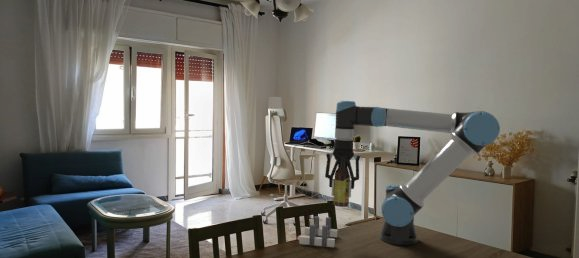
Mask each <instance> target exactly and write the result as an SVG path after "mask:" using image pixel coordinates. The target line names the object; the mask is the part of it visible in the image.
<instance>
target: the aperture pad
mask: <svg viewBox="0 0 579 258" xmlns="http://www.w3.org/2000/svg"><path fill="white" fill-rule="evenodd" d="M300 236H308V237H310V235H305V234H300V235H298V236H297V237H296V238H297V240H298V242H300Z"/></svg>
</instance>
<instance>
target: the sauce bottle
mask: <svg viewBox="0 0 579 258" xmlns="http://www.w3.org/2000/svg"><path fill="white" fill-rule="evenodd" d="M345 161H346V159H345V157H341V158H340V162H339V163H338V166H337V169H336V171H335V174H334V178H333V179H334V195H333V196H332V199H333V205H334V206H335V207H338V208H339V207H341V208H343V207H348V206H349V202H350V197H349V181H350V180H351V177H350V173H349V169H348V166H347V163H346V162H345Z"/></svg>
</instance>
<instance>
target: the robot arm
mask: <svg viewBox="0 0 579 258" xmlns="http://www.w3.org/2000/svg"><path fill="white" fill-rule="evenodd" d="M355 126H365V127H376V128H377V127H381V128H382V127H389V128H390V127H391V128H400V129H408V130H409V129H410V130H418V131H419V130H420V131H428V132H435V133H444V134H450V136H451V138H450V139H449V140H448V141H447V143H446V144H445V145H444V146H443V147H441V148H440V150H438V152H436V154H435V155H434V156H433V157H432V158H431V159H430V160H428V162H427V163H426V164H425V165H424V166H422V168H421V169H420V170H418V171H417V173H416V174H415V175H413V177H412V178H411V179H409V181H407V182H406V183H404V184H403V183H401V184H388V185H386V187H385V188H386V189H385V199H384V201H383V202H382V205H381V215H382V217H383V219H384V222H383V224H382V227H381V230H380V234H379V235H380V237H379V239H381V240H382V241H383V242H385V243H388V244H391V245H394V246H395V245H397V246H411V245H416V244H417V243H418V234H417V230H416V227H415V223H414V221H415V220H414V219H415V216H416V214H417V213H419V211H420V210H421V209H423V207H424V204H425V203H424V201H425V200H426V198H427V197H429V195H431V193H433V192H434V191H435V190H436V188H438V187H439V186H440V185H441V184H442V183H443V182H444V181H445V180H446V179H447V178H448V177H449V176H450V175H451V174H453V172H454V171H455V170H456V169H458V167H459V166H460V165H462V163H464V162H465V160H467V159H468V158H469V156H471V155H478V154H479V153H480V152H481V151H482V150H483V149H484V148H485V147H487V145H488V146H489V145H490V144H492V143H494V141H496V140H497V138H498V137H499V134H500V130H501V127H500V123H499V121H498V119H497V118H496V117H495V116H494V115H493V114H491V113H490V112H488V111H484V110H483V111H482V110H478V111H470V112H459V111H455V112H454V113H441V112H430V111H419V110H409V109H400V108H399V109H397V108H386V107H379V106H357V105H356V102H355V101H353V100H352V101H351V100H350V101H349V100H338V102H337V103H336V111H335V129H334V131H335V132H334V138H335V139H334V146H333V147H334V148H333V151H332V152H326V160H327V161H326V167H325V176H324V177H325V178H326V179H328V180H329V182H328V183H329V184H328V186H329V188H331V197H334V179H335V178H334V177H335V172H336V170H337V169H338V163H339V162H340V158H341V157H345V159H346V161H345V162H346V163H347V168H348V172H349V175H350V181H349V199H350V198H351V197H352V190H354V189H355V182H356V181H358V180H360V162H359V161H360V158H361V155H360V154H356V153H354V140H353V139H354V137H355ZM333 156H334V158H335V163H334V164H333V167H332V170H331V169H330V167H331V159H332V158H333ZM352 158H354V160H355V175H354V171H353V168H352V167H353V166H352V164H351V160H352ZM330 170H331V173H330Z"/></svg>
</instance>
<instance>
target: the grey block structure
mask: <svg viewBox="0 0 579 258" xmlns="http://www.w3.org/2000/svg"><path fill="white" fill-rule="evenodd" d="M331 221H332V218H331V217H328V216H327V217H325V225H322V227H320V216H316V215H315V216H314V217H313V224H312V223H310V224H309V227H308V226H305V227H304V235H310V237H308V236H300V235H299V236H300V241H298V242H299V245H303V246H305V245H306V246H307V245H308V246H316V247H327V248H328V247H329V248H335V247H336V246H335V243H336V241H335V240H336V239H335V238H338V229H335V228H331V226H332V225H331V224H332V223H331Z"/></svg>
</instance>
